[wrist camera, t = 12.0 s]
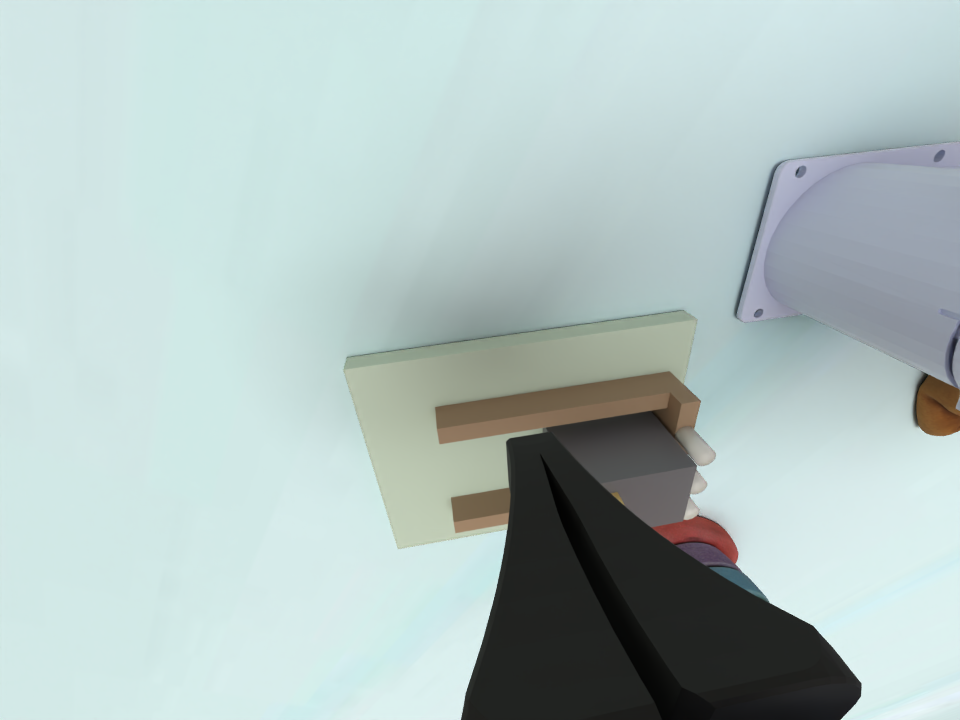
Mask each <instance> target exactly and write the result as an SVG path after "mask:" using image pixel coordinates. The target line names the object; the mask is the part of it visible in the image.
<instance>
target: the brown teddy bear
mask: <svg viewBox="0 0 960 720" xmlns="http://www.w3.org/2000/svg"><path fill="white" fill-rule="evenodd" d="M959 397H960V389H958V388H956V387H954V386H952V385H950V384H947V383H945V382H943V381H941V380H939V379H937V378H935V377H933V376H931V375H928V376H927V378H926V379H925V381H924V382H923V383H922V385H921V386H920V388H919V391H918V394H917V406H916V414H917V420H918V425H919V427H920V428H921V429H922V430H923V431H924V432H925V433H927V434H930V435H934V436H946V435H950V434H953V433H955V432H958V431H960V411H959V410H957V409H956V405H957V403H958V400H959Z"/></svg>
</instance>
